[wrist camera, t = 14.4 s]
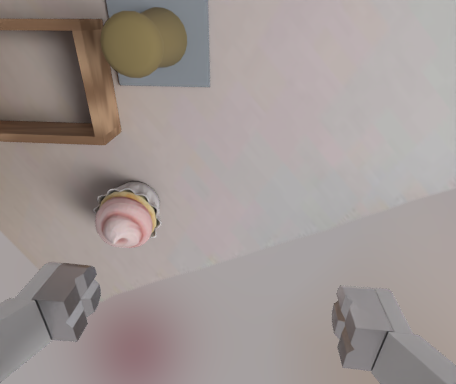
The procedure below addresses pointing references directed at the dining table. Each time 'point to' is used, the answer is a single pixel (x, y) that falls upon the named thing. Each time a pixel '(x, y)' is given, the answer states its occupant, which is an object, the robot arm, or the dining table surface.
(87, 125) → the frame
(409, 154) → the dining table surface
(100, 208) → the cupcake
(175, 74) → the felt pad
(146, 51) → the olive piece
